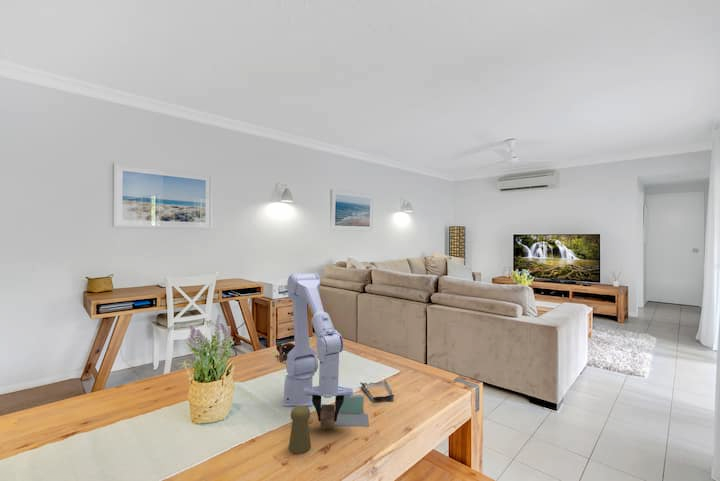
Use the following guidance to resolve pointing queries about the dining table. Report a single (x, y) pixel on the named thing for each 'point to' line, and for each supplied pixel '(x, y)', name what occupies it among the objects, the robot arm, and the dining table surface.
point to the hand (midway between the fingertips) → (327, 419)
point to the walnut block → (327, 416)
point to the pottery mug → (284, 350)
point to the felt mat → (352, 420)
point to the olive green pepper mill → (300, 430)
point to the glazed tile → (353, 404)
